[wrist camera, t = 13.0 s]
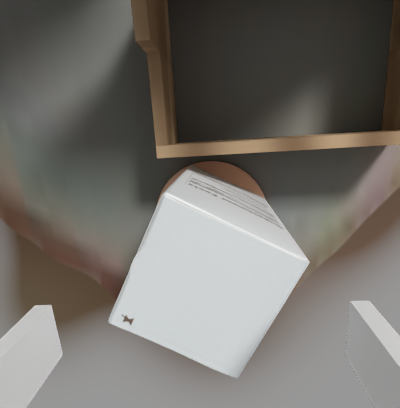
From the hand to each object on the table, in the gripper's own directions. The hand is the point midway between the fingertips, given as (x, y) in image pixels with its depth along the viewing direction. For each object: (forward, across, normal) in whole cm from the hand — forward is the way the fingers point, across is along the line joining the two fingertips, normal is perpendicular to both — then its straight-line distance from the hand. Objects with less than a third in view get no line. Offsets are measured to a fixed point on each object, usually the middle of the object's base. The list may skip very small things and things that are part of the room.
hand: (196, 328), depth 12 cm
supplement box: (+18, 0, -1) cm, 18 cm away
